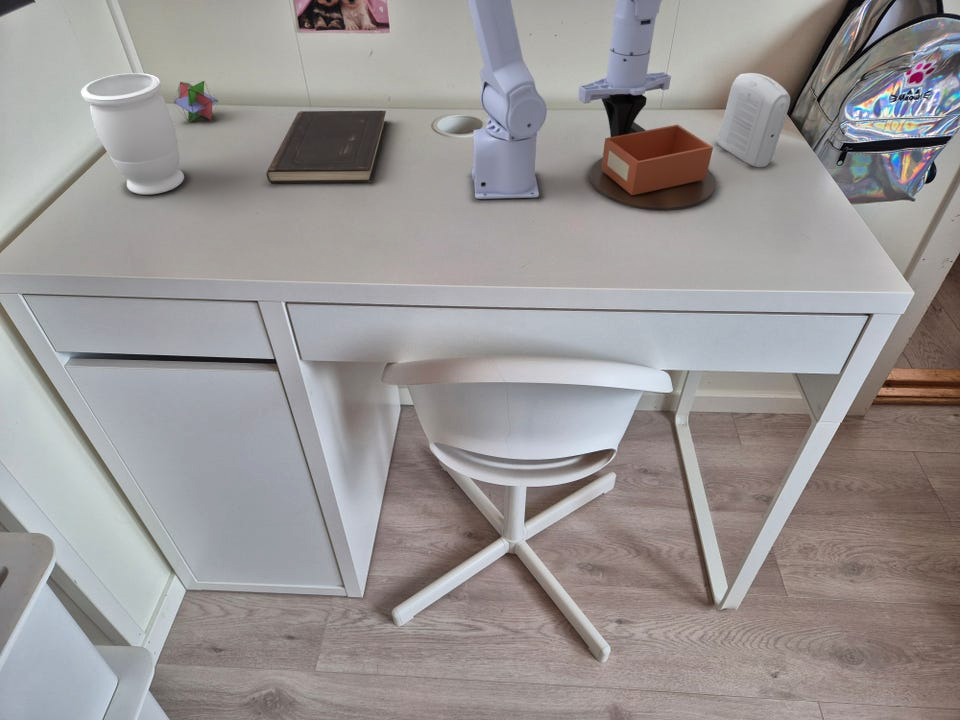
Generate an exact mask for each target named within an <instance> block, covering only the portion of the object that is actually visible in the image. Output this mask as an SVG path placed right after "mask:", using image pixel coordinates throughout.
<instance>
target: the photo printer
mask: <svg viewBox="0 0 960 720" xmlns="http://www.w3.org/2000/svg"><path fill="white" fill-rule="evenodd" d="M790 105H791V96H790V94H789V92H788V91H787V90H786V89H785V87H783V86H782V85H781V84H780V83H778V82H777V81H776V80H774V79H773V78H771V77H770V76H767V75H764V74H761V73H758V72H757V73H756V72H746V73H740V74H739V75H738V76H737V77H736V78H735V79H734V81H733V82H732V84H731V88H730V91H729V94H728V99H727V102H726V107H725V110H724V115H723V118H722V122H721V126H720V129H719V133H718V138H717V145H718V146H720V147H721V148H723V149H724V150H726V151H727V152H729V153H730V154H732V155H734V157H737V158H738V159H739V160H741V161H742V162H745V163H746V164H748V165H750V166H753V167H754V168H764V167H767V166H768V165H769V164H770V163H771V162H772V160H773V157H774V156H775V155H774V154H775V152H776V149H777V146H778V142H779V139H780V137H781V133H782V129H783V126H784V123H785V121H786V119H787V118H786V117H787V115H788V111H789V108H790Z"/></svg>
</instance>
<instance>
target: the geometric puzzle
mask: <svg viewBox="0 0 960 720" xmlns="http://www.w3.org/2000/svg"><path fill="white" fill-rule="evenodd" d="M189 82H193V81H189ZM189 82H185V81H179V84H178V88H177V90H176V93H175V97H174V99H173V100H174V101H172V103H173V104H174V105H176V106H178V107H180V108H182V110H183V113H184V115H183V114H182V115H183V117H185V120H186V121H187V123H190V122H195V121H193V120H195V119H197V118H198V117H200V118H203V119H206V120H207V121H210V122H212V121H213V118H214V113H215V111H216V108H217V104H218V102H219V100H218V98H217V97H216V95H215V94H213V96H215V97H213V96H211V94H210V91H209V89H210V87H209V86H208V84H206V85H205V83H206V81H205V80H202V81H200V82H199V83H197V84H194V85H192V84H191V83H189ZM205 87H206V89H207V92H208V93H206V92H205ZM210 90H211V89H210ZM177 94H178V97H177V98H176V96H177ZM214 105H215V109H214V113H213V107H214ZM185 111H187V114H186V112H185ZM179 112H180V113H182V111H180V110H179Z"/></svg>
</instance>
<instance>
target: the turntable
mask: <svg viewBox="0 0 960 720" xmlns="http://www.w3.org/2000/svg"><path fill="white" fill-rule="evenodd" d="M602 159H603V157H601V158H599V159H598V160H597V161H595V162H594V164H593V165H592V166H591V169H590V173H589V180H590V183H591V185H592V186H593V188H594V189H595V190H596V191H597V192H598V193H600V194H601V195H602V196H604V197H605V198H607V199H609V200H611V201H613V202H615V203H617V204H620V205H623V206H627V207H630V208H635V209H640V210H648V211H661V212H663V211H665V212H666V211H677V210H679V211H680V210H685V209H689V208H690V209H691V208H693V207H696V206H699V205H701V204H704V203H705V202H707V201H708V200H709V199H710V198H711V197H712V196H713V195H714V193H715V191H716V186H717V181H716V178H715V175H714V174H713V173H712V172H711V170H710V169H708V171H707V175H706V179H704V180H700V181H695V182H691V183H686V184H682V185H677V186H673V187H668V188H664V189H659V190H654V191H650V192H645V193H641V194H636V195H631V194H630V193H628V192H627V191H626V190H625V189H624V188H622V187H621V186H620V185H619V184H618V183H616V182H615V181H614V180H613V179H612V178H611V177H609V176H608V175H607V174H606V173H605V172H603V171H602V170H601V167H602Z"/></svg>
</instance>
